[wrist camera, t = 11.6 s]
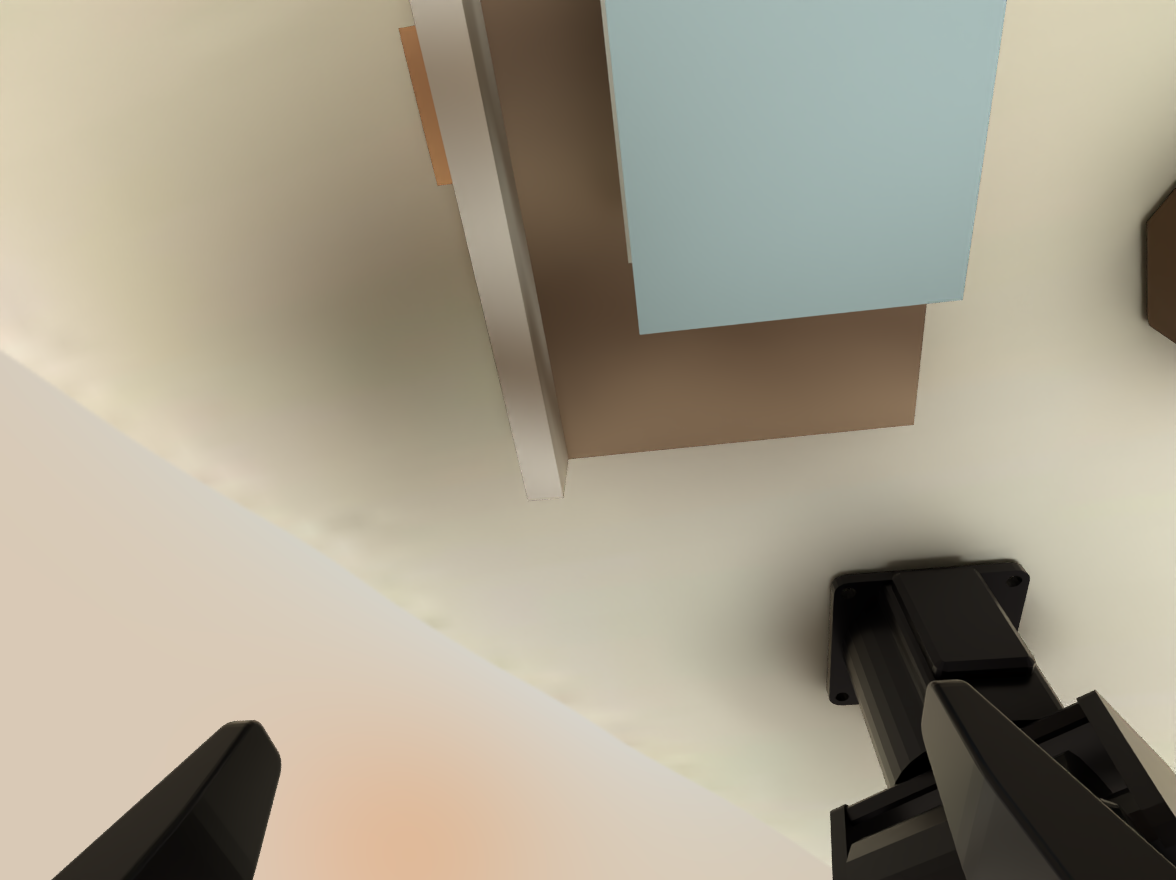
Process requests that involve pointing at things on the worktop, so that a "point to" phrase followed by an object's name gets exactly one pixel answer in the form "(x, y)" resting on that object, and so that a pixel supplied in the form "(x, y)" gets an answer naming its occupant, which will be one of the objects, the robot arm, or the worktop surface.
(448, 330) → the worktop surface
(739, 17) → the product carton
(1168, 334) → the beer bottle
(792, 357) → the shelf board
